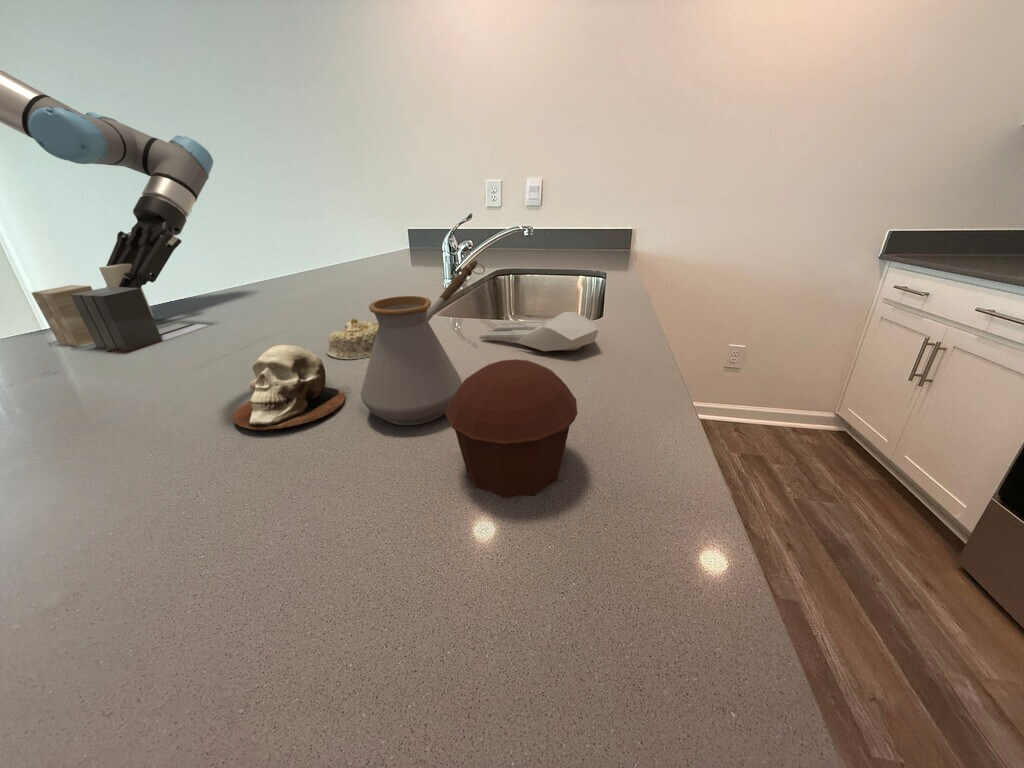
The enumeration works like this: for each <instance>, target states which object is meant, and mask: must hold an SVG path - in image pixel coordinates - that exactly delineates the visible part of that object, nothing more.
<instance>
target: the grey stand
mask: <svg viewBox="0 0 1024 768" xmlns="http://www.w3.org/2000/svg"><path fill="white" fill-rule="evenodd" d="M71 297H72V299H73V301H74V303H75V305H76V307H77V309H78V311H79V313H80V315H81V317H82V319H83V321H84V323H85V325H86V327H87V329H88V331H89V333H90V335H91V337H92V339H93V341H94V342H93V343H94V345H95V348H97V349H103V350H106V353H114V354H123V355H127V354H131V353H133V352H136V351H139V350H141V349H144V348H148V347H151V346H154V345H156V344H159V343H162V342H165V341H168V340H171V339H174V338H177V337H180V336H183V335H186V334H189V333H191V332H195V331H197V330H201V329H204V328H207V327H210V326H211V324H201V323H199V324H198V323H191V324H187V325H184V326H181V327H179V328H174V329H172V330H168V331H166V332H162V333H160V331H159V329H158V327H157V324H156V322H155V320H154V316H152V314H151V312H150V310H149V307H148V305H147V303H146V300H145V298H144V296H143V293H142V291H141V289H140V288H126V287H107V286H106V287H105V286H104V287H101V288H96V289H92V290H90V291H85V292H80V293H75V294H71Z"/></svg>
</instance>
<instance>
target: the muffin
mask: <svg viewBox="0 0 1024 768" xmlns="http://www.w3.org/2000/svg"><path fill="white" fill-rule="evenodd" d="M444 414H445V416H446V418H447V421H448V423H449V425H450V427H451V428H452V429H453V430H454V431H455V435H456V438H457V442H458V445H459V446H458V447H459V449H460V452H461V456H462V459H463V463H464V467H465V470H466V471H467V473H468V474H469V476H470V477H471V479H472V481H473V484H474V487H475V489H479V490H481V491H485V492H489V493H491V494H493V495H495V496H497V497H499V498H501V499H508V498H514V497H527V496H528V497H531V496H537V495H538V494H539V493H540V492H542V491H543V490H545V488H548V487H549V486H551V485H552V484H555V483H557V482H558V480H559V475H560V470H561V468H562V467H561V466H562V462H563V457H564V454H565V453H564V452H565V449H566V444H567V440H568V435H569V430H570V426H571V425H572V424H573V423H574V422H575V420H576V418H577V416H578V403H577V398H576V397H575V396H574V394H573V393H572V391H571V390H570V388H569V387H568V385H567V384H566V383H565V382H564V381H563V380H562V379H561V378H560V377H559V376H558V374H556V373H555V372H554V371H553V370H552V369H550V368H548V367H547V366H543V365H541V364H539V363H537V362H533V361H531V360H526V359H516V358H515V359H505V360H504V359H503V360H499V361H496V362H492V363H488V364H487V365H485V366H483V367H482V368H480V369H478V370H477V371H475V372H474V373H472V374H470V375H469V376H467V378H465V379H464V380H463V381H462V384H461V386H460V387H459V388H458V390H457V391H456V393H455V395H454V396H453V397H452V398H451V400H450V402H449V405H448V407H447V409H446V411H445V413H444Z"/></svg>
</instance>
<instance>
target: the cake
mask: <svg viewBox="0 0 1024 768" xmlns="http://www.w3.org/2000/svg"><path fill="white" fill-rule="evenodd" d="M378 326H379V323H378V322H375V321H371V320H370V321H369V320H363V321H359V320H358V319H357V318H356V319H354V318H351V319H350V321H348V322H346V323H345V324H344V328H345V330H338V331H335V332H332V333H330V334H329V335H328V346H327V347H326V348H325V353H326V354H327V355H329V357H332V358H336V359H341V360H356V359H358V360H359V359H365V358H368V357H369V358H370V356H371V352H372V349H373V345H374V341H375V337H376V333H377V329H378Z"/></svg>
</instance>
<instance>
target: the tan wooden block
mask: <svg viewBox="0 0 1024 768" xmlns="http://www.w3.org/2000/svg"><path fill="white" fill-rule="evenodd" d="M90 290H93V288H92V286H91V285H78V284H76V285H75V284H70V285H65V286H59V287H54V288H53V287H52V288H48V289H42V290H38V291H32V292H31V296H32V297H33V299H34V301H35V303H36V304H37V306H38V308H39V310H40V313H42V316H43V317H44V319H45V321H46V323H47V324H48V327H49V329H50V330H51V332H52V334H53V336H54V337H55V339H56V341H57V343H58V345H60V346H61V345H62V346H71V347H72V346H73V347H81V346H83V345H87V344H90V343H94V341H93V339H92V337H91V335H90V333H89V331H88V329H87V327H86V325H85V323H84V321H83V319H82V317H81V315H80V313H79V311H78V309H77V307H76V305H75V303H74V301H73V299H72V297H71V294H75V293H80V292H85V291H90Z"/></svg>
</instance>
